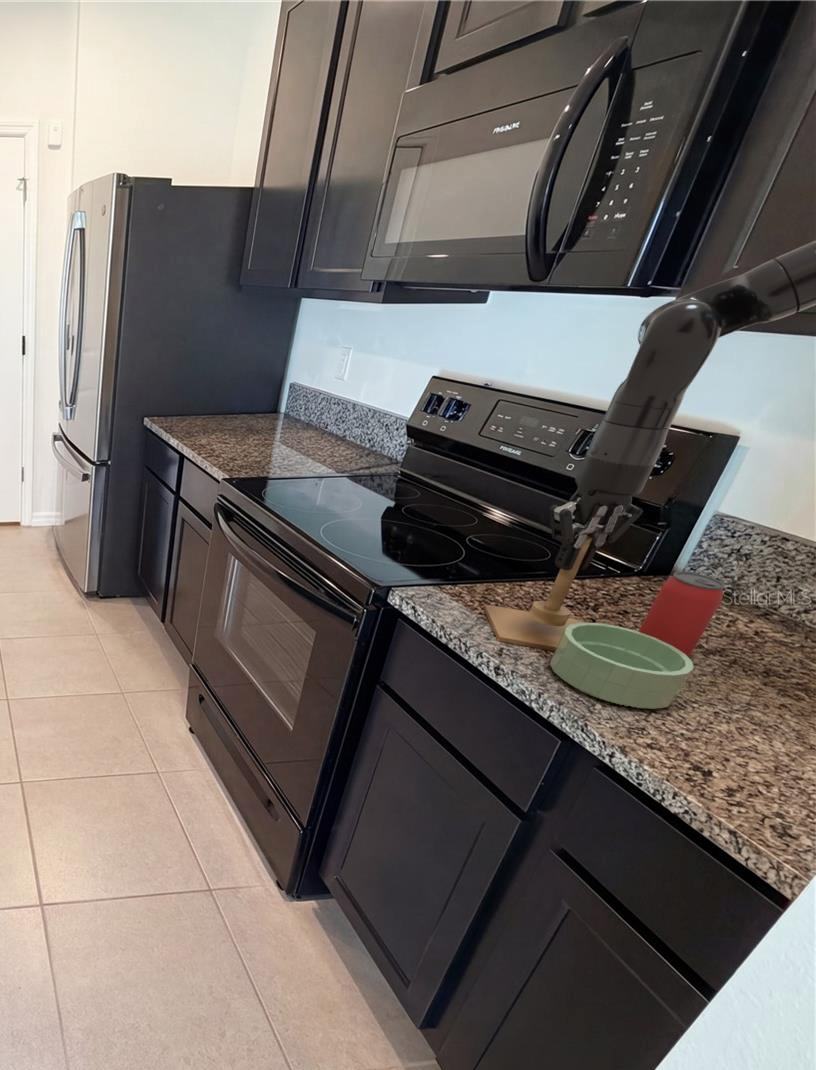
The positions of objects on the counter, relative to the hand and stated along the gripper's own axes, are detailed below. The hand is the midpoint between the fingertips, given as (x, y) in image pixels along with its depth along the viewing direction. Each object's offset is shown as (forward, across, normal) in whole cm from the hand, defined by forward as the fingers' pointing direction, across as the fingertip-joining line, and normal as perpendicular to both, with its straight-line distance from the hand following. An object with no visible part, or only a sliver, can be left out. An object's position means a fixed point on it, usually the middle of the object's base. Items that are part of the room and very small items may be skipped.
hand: (570, 567), depth 99 cm
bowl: (+12, -2, -14) cm, 18 cm away
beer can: (+12, +15, -6) cm, 20 cm away
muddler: (+9, 0, 0) cm, 9 cm away
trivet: (+12, 0, 0) cm, 12 cm away
